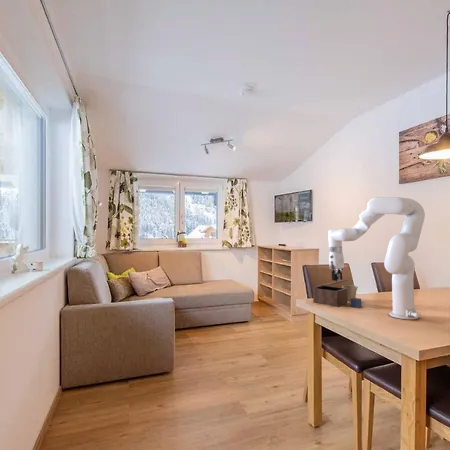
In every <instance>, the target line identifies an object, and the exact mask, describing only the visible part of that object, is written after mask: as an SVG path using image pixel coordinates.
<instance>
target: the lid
mask: <svg viewBox="0 0 450 450" xmlns="http://www.w3.org/2000/svg"><path fill="white" fill-rule="evenodd" d="M336 274H337V273H336ZM340 276H341V275H340V274H337V277H339V279H338V280H337V281H332V282H328V283H322V284H317V285H314V286H312V289H313V288H315V287H320V286H331V285H336V284H341V283H345V282H348V279H344V280H343V279H342V280H341V279H340Z"/></svg>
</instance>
